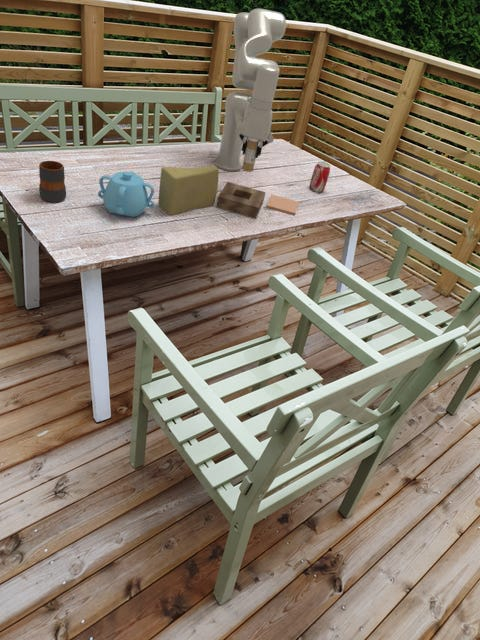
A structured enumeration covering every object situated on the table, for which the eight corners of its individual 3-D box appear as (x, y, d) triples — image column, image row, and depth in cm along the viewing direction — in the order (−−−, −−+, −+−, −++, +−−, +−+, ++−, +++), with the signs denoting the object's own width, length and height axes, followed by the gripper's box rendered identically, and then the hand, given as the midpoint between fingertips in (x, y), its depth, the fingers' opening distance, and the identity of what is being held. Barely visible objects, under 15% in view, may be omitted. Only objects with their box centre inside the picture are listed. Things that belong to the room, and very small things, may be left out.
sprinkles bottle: (250, 167, 187) (257, 132, 179) (255, 172, 184) (263, 136, 176) (239, 167, 185) (246, 131, 177) (244, 172, 182) (251, 136, 174)
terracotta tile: (266, 207, 196) (266, 205, 195) (270, 196, 205) (271, 194, 205) (294, 215, 195) (295, 213, 194) (298, 204, 205) (298, 201, 204)
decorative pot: (94, 201, 172) (94, 164, 164) (135, 196, 181) (137, 161, 173) (114, 223, 163) (115, 185, 154) (156, 217, 172) (160, 181, 163)
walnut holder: (216, 207, 187) (218, 196, 184) (225, 192, 200) (227, 181, 197) (256, 218, 186) (258, 207, 184) (263, 202, 199) (265, 192, 196)
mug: (57, 187, 175) (56, 155, 168) (70, 202, 168) (69, 169, 161) (32, 189, 170) (30, 156, 163) (44, 204, 164) (42, 171, 156)
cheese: (207, 198, 192) (213, 161, 183) (220, 210, 186) (227, 172, 177) (156, 204, 180) (160, 165, 171) (169, 216, 174) (173, 176, 165)
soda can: (323, 194, 218) (331, 169, 211) (307, 190, 218) (315, 164, 211) (324, 188, 224) (332, 163, 216) (309, 185, 224) (316, 159, 217)
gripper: (235, 100, 167) (226, 152, 179) (283, 113, 166) (270, 164, 178) (240, 95, 173) (231, 146, 184) (285, 108, 172) (273, 157, 184)
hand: (250, 154), depth 181 cm, fingers closed on sprinkles bottle, 4 cm apart
